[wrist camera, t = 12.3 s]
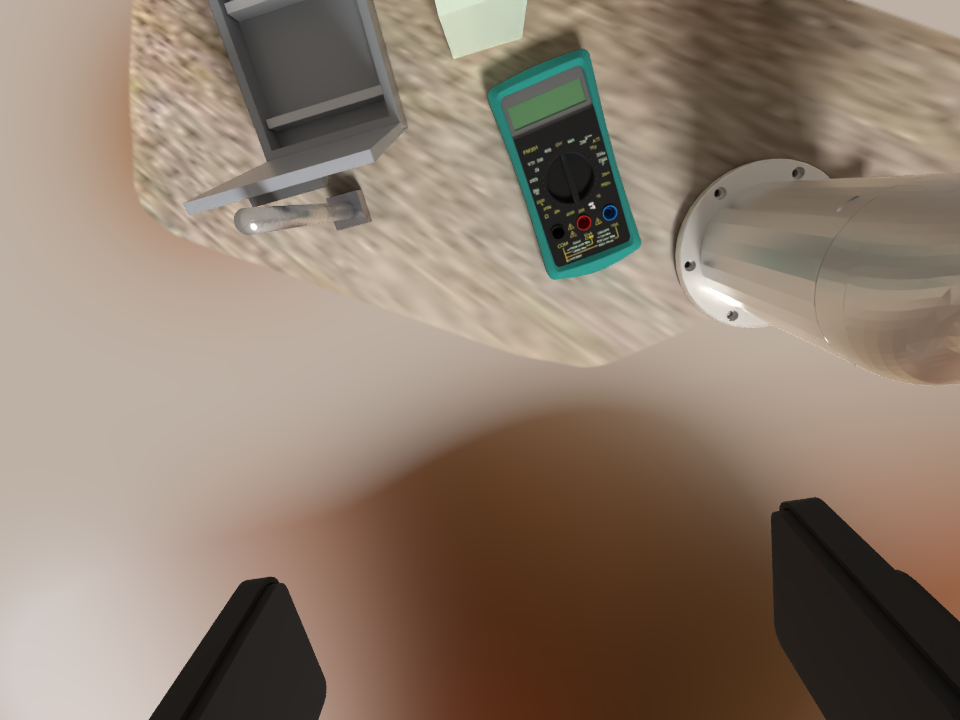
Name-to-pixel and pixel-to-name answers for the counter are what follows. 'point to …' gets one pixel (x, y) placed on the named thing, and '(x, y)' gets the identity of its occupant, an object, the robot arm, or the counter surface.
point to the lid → (298, 171)
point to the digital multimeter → (566, 165)
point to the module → (480, 23)
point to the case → (309, 70)
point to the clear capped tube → (305, 215)
